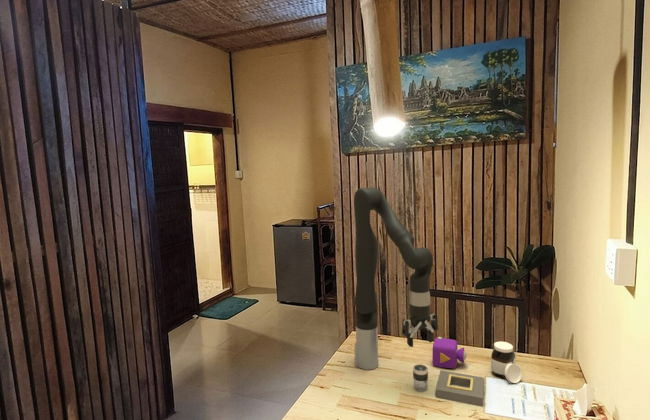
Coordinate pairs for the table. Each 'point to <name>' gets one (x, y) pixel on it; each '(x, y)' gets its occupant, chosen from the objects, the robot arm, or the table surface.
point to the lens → (420, 378)
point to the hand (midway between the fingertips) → (420, 343)
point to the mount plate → (460, 388)
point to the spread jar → (505, 362)
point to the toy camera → (447, 353)
